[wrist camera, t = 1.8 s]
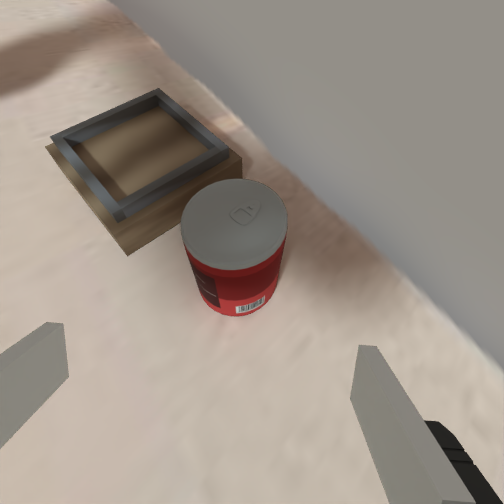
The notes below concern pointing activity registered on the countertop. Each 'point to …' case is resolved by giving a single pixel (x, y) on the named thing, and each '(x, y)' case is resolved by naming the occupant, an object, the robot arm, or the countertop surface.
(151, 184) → the square wooden tray
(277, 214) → the canned food
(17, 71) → the countertop surface
